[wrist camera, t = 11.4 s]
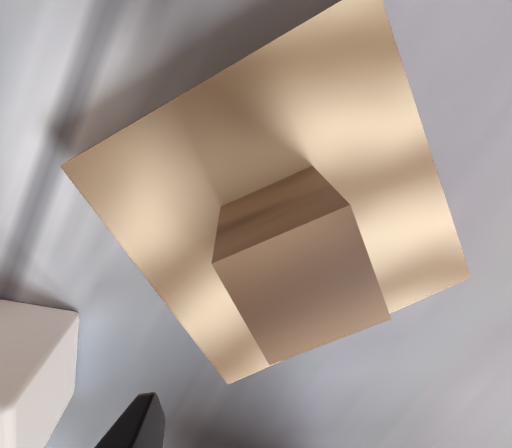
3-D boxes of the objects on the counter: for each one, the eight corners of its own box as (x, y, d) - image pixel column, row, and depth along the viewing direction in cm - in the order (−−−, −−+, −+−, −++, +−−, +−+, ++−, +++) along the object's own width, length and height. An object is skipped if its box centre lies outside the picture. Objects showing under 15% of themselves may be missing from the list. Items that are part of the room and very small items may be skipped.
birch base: (450, 261, 21) (471, 277, 19) (229, 361, 23) (227, 384, 21) (359, -7, 15) (375, -20, 14) (78, 158, 18) (60, 166, 16)
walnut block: (344, 248, 18) (391, 319, 13) (260, 283, 19) (269, 365, 13) (312, 165, 16) (350, 204, 11) (220, 206, 17) (211, 263, 11)
